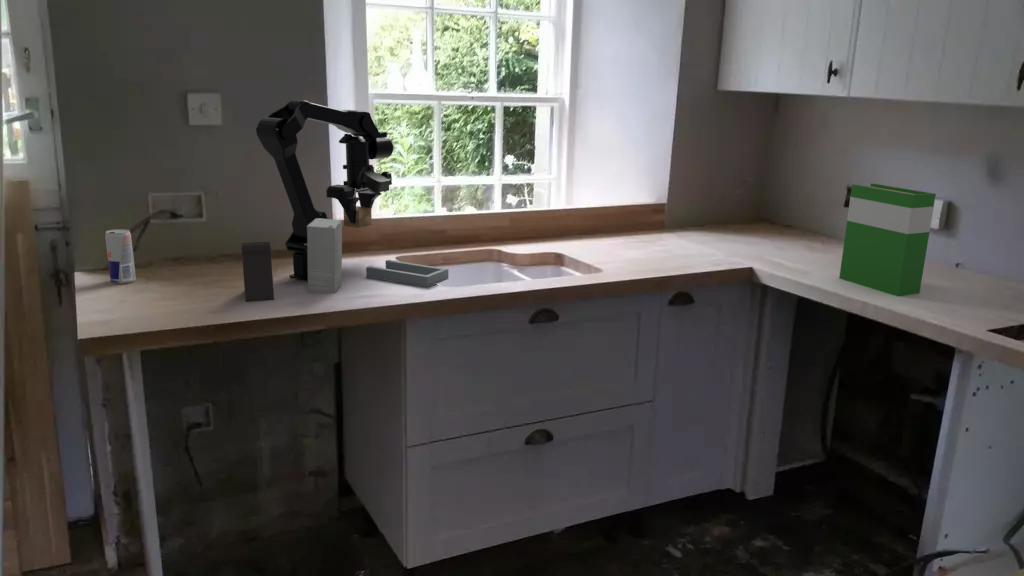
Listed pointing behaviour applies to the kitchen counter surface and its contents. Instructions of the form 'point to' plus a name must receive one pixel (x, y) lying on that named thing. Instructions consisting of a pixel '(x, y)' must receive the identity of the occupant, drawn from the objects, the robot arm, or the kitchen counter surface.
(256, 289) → the dark grey upright block
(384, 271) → the slate channel
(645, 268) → the kitchen counter surface
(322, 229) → the skincare box
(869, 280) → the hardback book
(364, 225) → the walnut block
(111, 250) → the energy drink
